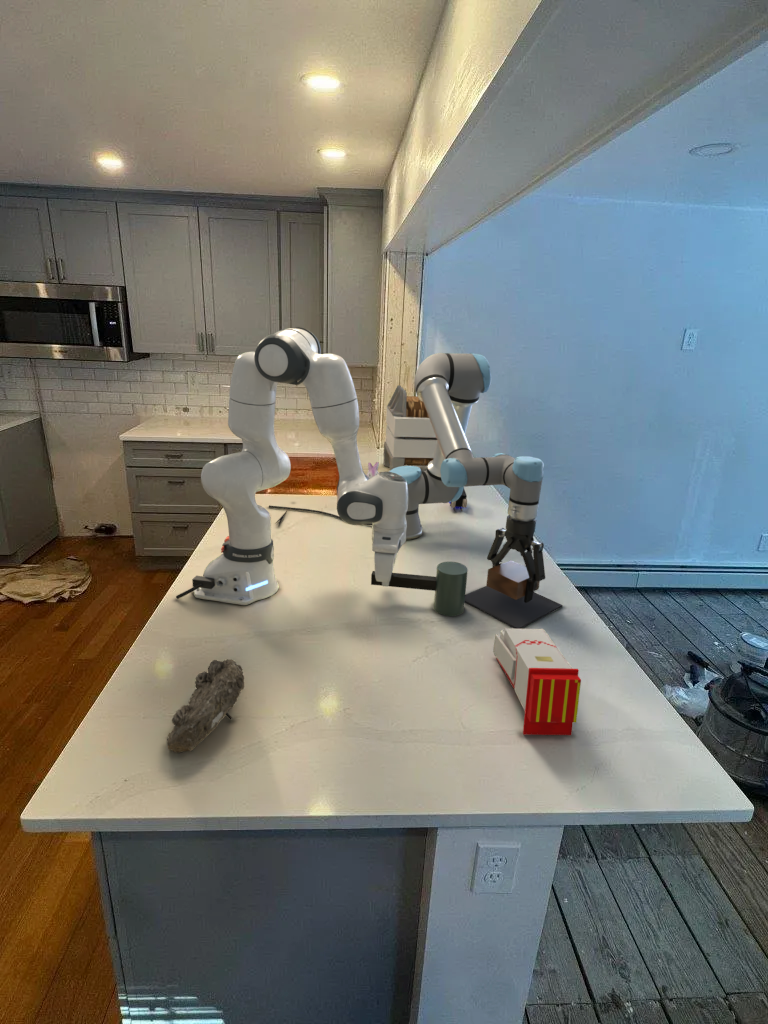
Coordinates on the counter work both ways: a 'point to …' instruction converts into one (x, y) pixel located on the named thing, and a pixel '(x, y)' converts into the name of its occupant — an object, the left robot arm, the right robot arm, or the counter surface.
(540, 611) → the coaster
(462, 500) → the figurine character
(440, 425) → the right robot arm
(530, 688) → the toy
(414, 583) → the green mallet
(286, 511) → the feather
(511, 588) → the brown square block
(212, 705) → the fossil
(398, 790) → the counter surface
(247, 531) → the left robot arm
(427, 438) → the white wooden crate
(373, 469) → the figurine
